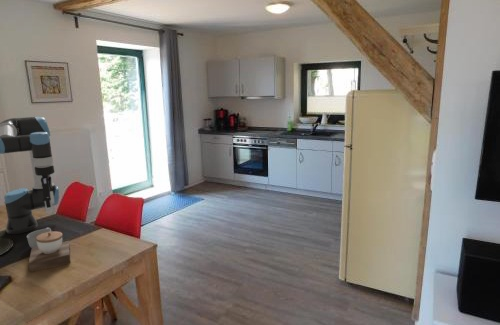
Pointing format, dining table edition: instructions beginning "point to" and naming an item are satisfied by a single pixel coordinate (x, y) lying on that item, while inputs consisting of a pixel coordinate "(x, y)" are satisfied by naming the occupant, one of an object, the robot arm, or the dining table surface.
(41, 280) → the dining table surface
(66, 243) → the walnut block
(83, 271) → the dining table surface
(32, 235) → the teacup
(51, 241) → the lidded jar
